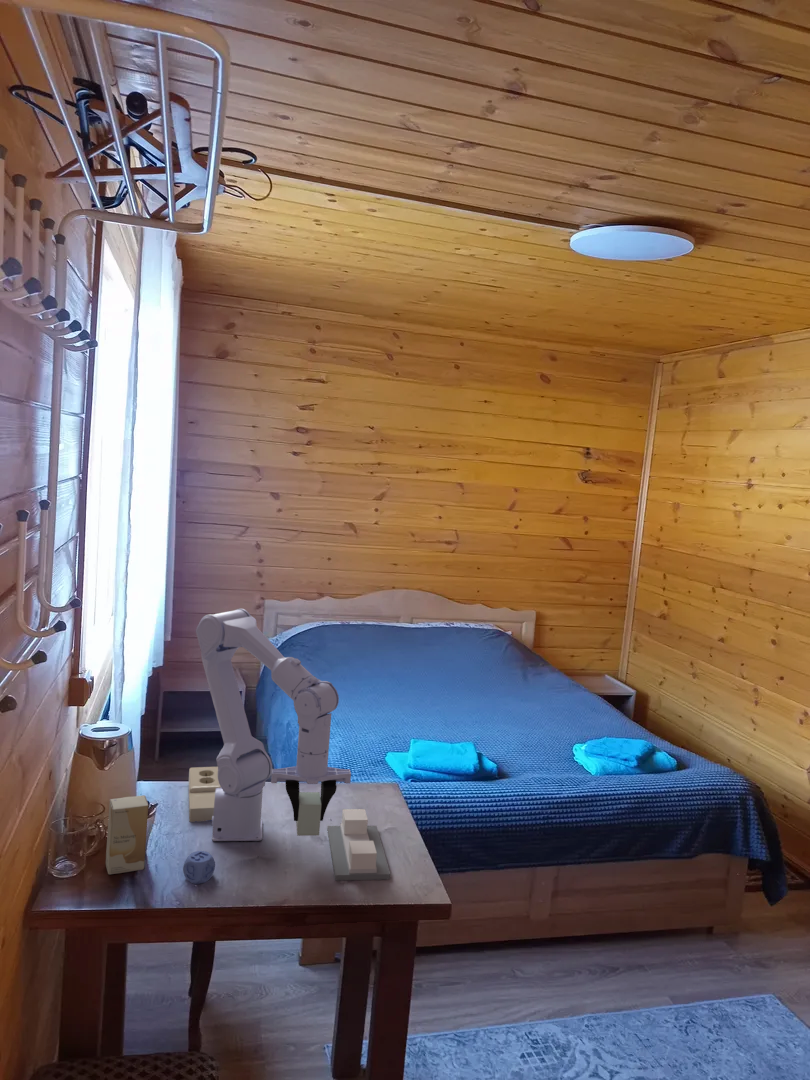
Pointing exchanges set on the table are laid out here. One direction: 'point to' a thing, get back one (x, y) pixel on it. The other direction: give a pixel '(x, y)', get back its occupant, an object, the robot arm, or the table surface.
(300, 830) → the block
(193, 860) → the decorative dice
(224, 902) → the table surface
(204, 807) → the electrical outlet
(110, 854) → the skincare box
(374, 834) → the rail board
